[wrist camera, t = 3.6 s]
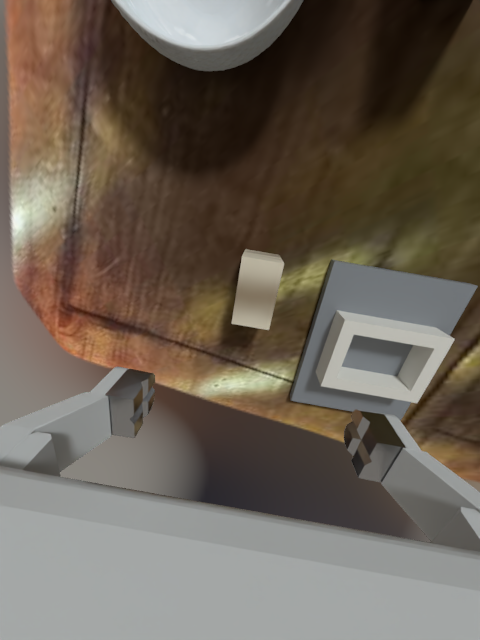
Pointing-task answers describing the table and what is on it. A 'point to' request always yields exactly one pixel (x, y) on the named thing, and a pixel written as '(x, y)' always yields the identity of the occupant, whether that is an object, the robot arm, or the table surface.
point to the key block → (257, 289)
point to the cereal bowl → (209, 28)
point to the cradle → (377, 338)
